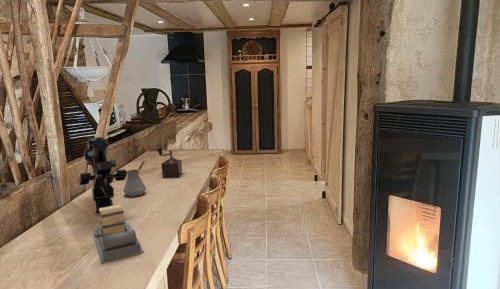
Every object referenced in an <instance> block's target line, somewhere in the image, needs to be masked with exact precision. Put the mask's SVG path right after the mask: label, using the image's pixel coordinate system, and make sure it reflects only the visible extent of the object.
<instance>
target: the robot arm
mask: <svg viewBox="0 0 500 289" xmlns="http://www.w3.org/2000/svg"><path fill="white" fill-rule="evenodd" d="M86 142H87V143H86V144H87V145H86V146H85V147H84V149H83V151H84V154H83V155H84V161H86V162H87V165H89V166H91V170H92V173H93V175H92V173H91V172H83V173H80V175H79V177H78V184H79V185H80V186H82V185H83V186H85V185H89V183H90V181H93V183H92V185H93V187H92V188H91V189H92V190H91V193H92V194H91V195H92V199H93V202H95V208H96V211H95V214H100V213H99V208H103V207H109V206H114V203H113V199H112V198H114V197H115V195H114V194H115V193H114V192H115V188H114V187H113V186H112V183H113V181H114V179H115V180H116V181H117V182H120V181H124V180H126V179H127V177H128V173H127V170H126V169H116V172H115V173H112V170H113V168H116V167H117V162H116V159H111V160H109V161H108V157H107V154H108V147H109V146H110V143H109V142H108V140H107V139H106V138H105V137H104V136H99V137H90V138H88V140H87V141H86Z"/></svg>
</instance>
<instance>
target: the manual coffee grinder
mask: <svg viewBox="0 0 500 289" xmlns="http://www.w3.org/2000/svg"><path fill="white" fill-rule="evenodd" d="M156 151H157V153H158V155H159V157H164V156H165V157H166V156H169V155H170V157H169V158H168V159H165V160H164V161H163V162H162V163H161V164H160V165H161V173H162V179H180V178H181V176H182V175H183V164H182V159H176V158H174V157H173V154H172V153H173V152H172V149H170V150H169V153H165V154H164V153H163V147H162V146H158V147H156Z"/></svg>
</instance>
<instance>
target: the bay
mask: <svg viewBox="0 0 500 289" xmlns="http://www.w3.org/2000/svg"><path fill="white" fill-rule="evenodd" d="M124 221H125V232H122V233H118V234H113V235H109V236H104V233H102V229H101V224H100V223H97V224H95V227H96V229H94V230H93V231H92V232H93V236H94V241H95V244H96V245H95V246H96V248H97V251H98V256H99V260H100V263H101V264H104V263H108V262H109V263H110V262H113V261H117V260H120V259H124V258H129V257H132V256H136V255H140V254H143V253H144V249H143V247H142V245H141V242H140V241H139V240H138V237H137V234H136V231H135V229H133V228H132V226H131V224H130V223H129V222H128V221H127V220H126V218H125V217H124Z"/></svg>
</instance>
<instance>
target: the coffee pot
mask: <svg viewBox="0 0 500 289" xmlns="http://www.w3.org/2000/svg"><path fill="white" fill-rule="evenodd" d="M147 163H148V162H147V161H146V160H143V161H142V162H141V164H140V165H139V167H138V168H137V169H130V170H128V171H127V170H126V171H127V177H126V182H125V184H124V187H123V193H124V194H125V195H126V196H127V197H129V198H130V197H131V198H136V197H140V196H142V195H143V194H144V193H145V191H146V190H147V187H146V186H145V184H144V182H143V180H142V178H141V176H140V175H139V173H140V170H141V169H142V168H143V166H144V165H145V164H147Z"/></svg>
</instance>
